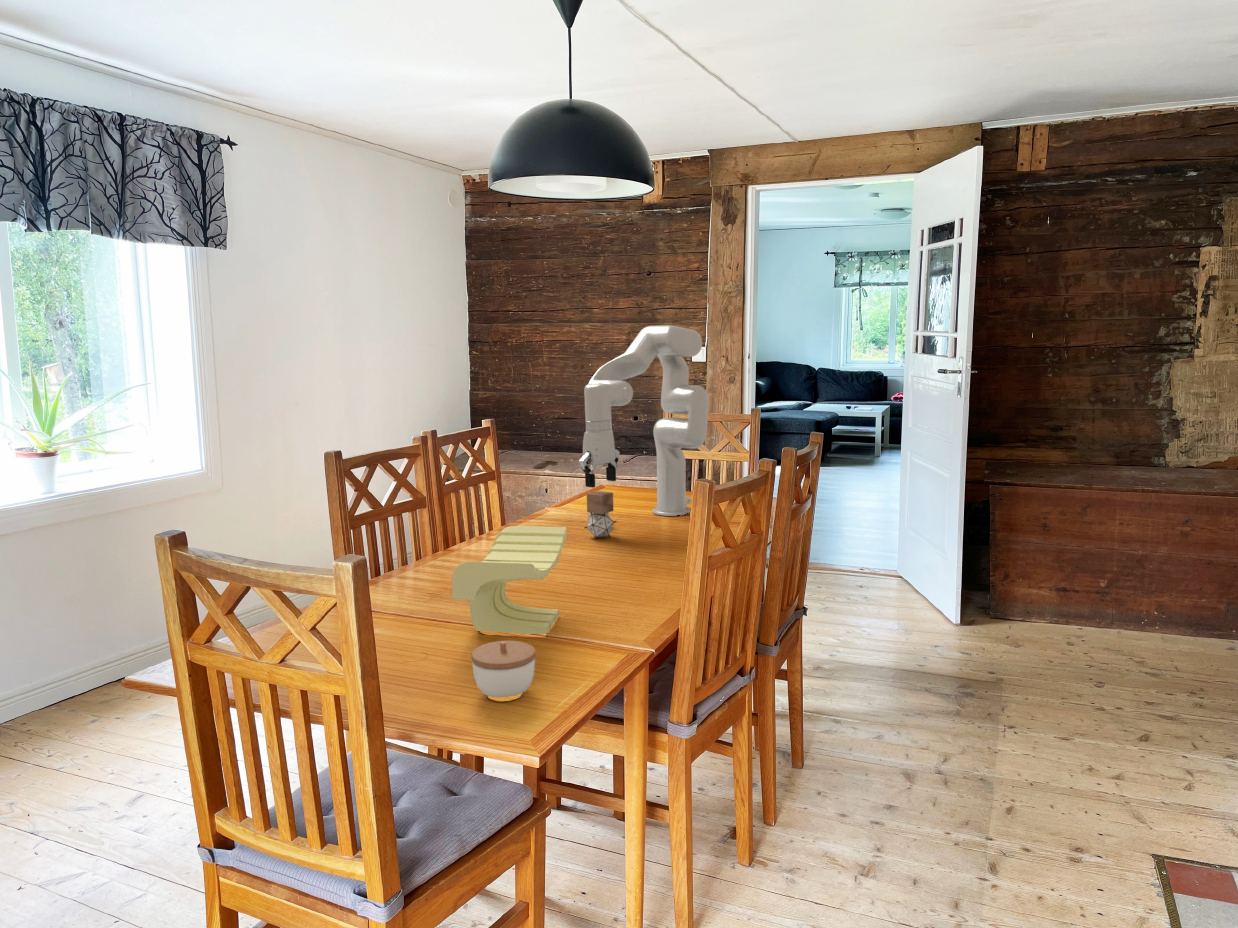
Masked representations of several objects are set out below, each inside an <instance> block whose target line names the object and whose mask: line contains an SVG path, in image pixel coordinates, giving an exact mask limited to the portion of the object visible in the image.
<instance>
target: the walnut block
mask: <svg viewBox="0 0 1238 928" xmlns="http://www.w3.org/2000/svg"><path fill="white" fill-rule="evenodd" d="M586 511H587V512H586V513H597V514H604V513H608V512H609V513H610V512H614V492H612V491H611V492H610V491H603V490H595V491H592V492H588V493H586Z"/></svg>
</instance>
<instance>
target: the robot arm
mask: <svg viewBox="0 0 1238 928" xmlns="http://www.w3.org/2000/svg"><path fill="white" fill-rule="evenodd" d="M702 347H703V339H702V336H701V335H700V333H699V332H698V331H697V330H695V329H692V328H687V327H682V326H676V325H649V326H645V327H644V328H642V329H641V330H640V331H639V332H638V334H637V335H636V337H635V338H633V341H632V342H631V343H630V345H629V347H628V348H627V349H626V350H625V352H624V353H622V354H620V355H618V356H617V357H614V359H612V360H610V361H608V362H606V363H604V365H602V366H600V367H599V368H598V370H596V372H595V373H594V375H593V376H592V377H591V378H590V380H589V382H588V384H586V385H585V386H584V391H583V392H584V394H583V395H584V414H585V416H584V417H585V432H584V433H583V440H582V457H581V458H580V459H579V461H578V462H579V465H580V468H581V470H582V471H583V474H584V479H585V480H584V481H585V487H587V488H595V487H596V475H595V473H594V472H595V469H596V467H600V466H603V465H606V467H605V474H606V481H608V482H616V481H617V473H616V472H617V471H616V468H617V467H618V462H619V457H620V454H621V453H620V451H619V450H618V449H617V448H616V446H615V437H614V431H613V428H612V426H613V425H612V423H613V422H612V407H623V406H624V407H625V406H626V405H627V404H629V403H630V402H631V400H632V399H633V395H634V389H633V387H632V386H631V384H630V383H629V382H628V381H625V380H627V379H630V378H634V377H637V376H640V375H642V374H644V373H645V372H646V371H647V370H648V368H649V367H650V366H651V364H652V363H653V362H654V360H655V358H656V357H657V358H658V360H659V362H660V364H661V368H662V384H661V394H660V395H661V396H660V406H661V409H662V411H664V413H665V412H666V413H668V414H673V415H676V414H677V415H688V416H687V417H688V418H681V417H664V418H663V417H662V418H661V419H658V420H657V421H656V422H655V424H654V426H653V432H652V433H653V438H654V444H655V450H656V452H655V453H656V501H657V503H656V507H653V508H652V513H653V514H655V515H658V516H665V517H678V516H677V515H680V516H686V515H688V514H690V513H691V508H690V507H688V506H687V505H688V504H691V503H692V502H691V498H692V497H690V496H688V497H687V495H686V493H687V490H686V489H687V488H686V487H687V486H686V484H687V483H686V482H687V481H686V480H687V479H686V477H687V476H686V472H687V471H686V467H687V466H686V465H687V463H686V462H687V461H686V457H685V454H684V453H683V451H682V449H700V448H701V447H702V446H703V445H704V443H705V440H706V437H707V429H708V428H707V427H708V418H709V415H708V414H709V407H710V406H709V405H710V404H709V403H710V402H709V394H708V393H707V390H706V389H705V388H704V387H702V386H700V385H696V384H695V385H692V384H689V378H690V377H689V376H690V369H689V366H688V364H687V362H686V360H685V359H684V357H685V358H686V357H689V358H690V357H691V358H692V357H695V356H697V355H699V353H700V352H701V350H702ZM687 513H688V514H687ZM685 514H686V515H685Z"/></svg>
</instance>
